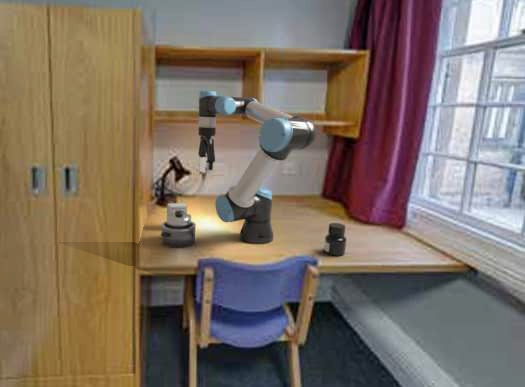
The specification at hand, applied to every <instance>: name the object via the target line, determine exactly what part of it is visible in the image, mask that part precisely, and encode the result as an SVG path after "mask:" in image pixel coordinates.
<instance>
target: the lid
mask: <svg viewBox="0 0 525 387" xmlns="http://www.w3.org/2000/svg"><path fill="white" fill-rule="evenodd" d="M166 221H167V228H171V229H185V228H189V227H191V221H192V215H191V214H189V213H187V214H186V213H183V211H180V210H178V211H175V213H172V214H168V215H167V214H166Z"/></svg>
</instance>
